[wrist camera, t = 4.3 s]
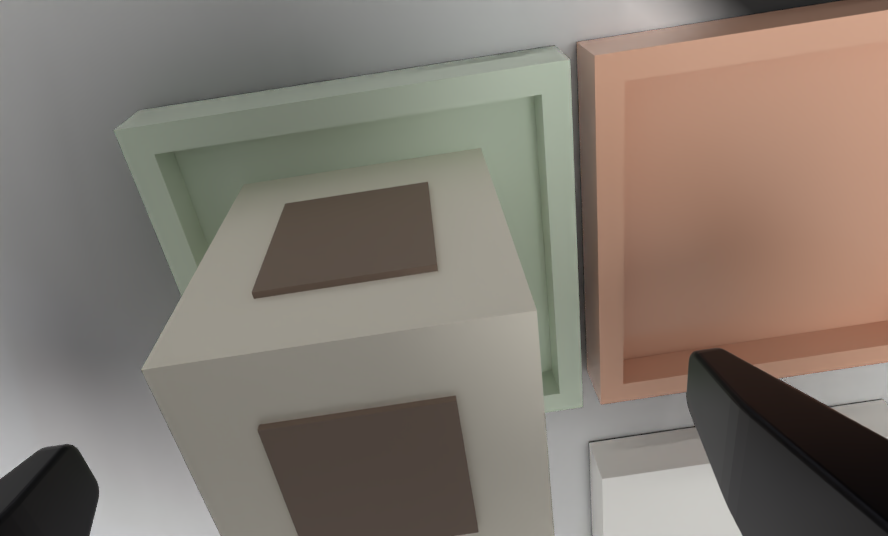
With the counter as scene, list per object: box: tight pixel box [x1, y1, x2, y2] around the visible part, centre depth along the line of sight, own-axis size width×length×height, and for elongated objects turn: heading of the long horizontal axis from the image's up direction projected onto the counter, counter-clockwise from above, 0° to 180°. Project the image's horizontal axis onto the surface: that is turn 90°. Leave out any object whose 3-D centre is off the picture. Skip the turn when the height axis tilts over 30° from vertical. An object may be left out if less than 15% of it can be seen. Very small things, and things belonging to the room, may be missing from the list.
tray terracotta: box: [577, 0, 888, 405], centre depth 13 cm, size 8×8×1 cm
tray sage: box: [113, 45, 583, 413], centre depth 13 cm, size 8×8×1 cm
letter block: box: [141, 148, 554, 536], centre depth 11 cm, size 4×5×6 cm
